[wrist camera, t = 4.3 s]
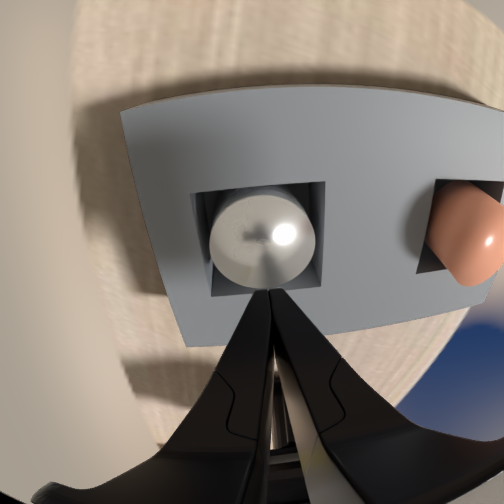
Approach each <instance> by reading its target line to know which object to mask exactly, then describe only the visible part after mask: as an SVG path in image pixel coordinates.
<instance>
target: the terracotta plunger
mask: <svg viewBox="0 0 504 504" xmlns="http://www.w3.org/2000/svg"><path fill="white" fill-rule="evenodd" d="M424 241H425V243H426V244H427V245H428V247H429V248H430V249H431V250H432V251H433V252H434V254H435V255H436V256H437V257H438V258H439V260H440V261H441V262H442V263H443V264H444V266H445V267H446V268H447V269H448V271H449V272H450V273H451V274H452V276H453V277H454V278H455V280H456V281H457V282H458V283H459V284H460V285H463V286H469V287H470V286H475V285H478V284H480V283H482V282H484V281H486V280H487V279H489V278H490V277H491V276H492V275H493V274H494V273H495V272H496V271H497V270H498V269H499V268H500V267H501V265H502V264H503V263H504V206H503V205H501V204H500V203H499V202H497V201H496V200H495V199H493V198H492V197H491V196H489V195H488V194H486V193H485V192H484V191H482V190H481V189H479V188H478V187H476V186H475V185H473V184H472V183H470V182H469V181H466V180H455V181H452V182H450V183H448V184H446V185H444V186H443V187H442V188H441V189H440V190H438V191H437V193H436V194H435V195H434V196H433V198H432V203H431V209H430V214H429V219H428V224H427V229H426V234H425V238H424Z"/></svg>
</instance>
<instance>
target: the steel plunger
mask: <svg viewBox="0 0 504 504" xmlns="http://www.w3.org/2000/svg"><path fill="white" fill-rule="evenodd" d="M209 247H210V254H211V257H212V260H213V262H214V264H215V266H216V267H217V269H218V270H219V271H220V272H221V273H222V274H223V275H224V276H225V277H226V278H228V279H229V280H231V281H233V282H235V283H237V284H239V285H242V286H246V287H251V288H270V287H275V286H279V285H281V284H284V283H286V282H288V281H290V280H292V279H293V278H295V277H296V276H298V275H299V274H300V273H301V272H302V271H303V270H304V269H305V268H306V266H307V265H308V264H309V262H310V260H311V258H312V256H313V253H314V249H315V234H314V230H313V227H312V225H311V222H310V220H309V218H308V216H307V213H306V211H305V209H304V207H303V204H302V202H301V200H300V198H299V196H298V194H297V192H296V190H295V189H294V188H293V187H292V185H290V184H277V185H265V186H254V187H243V188H233V189H224V190H222V191H221V193H220V195H219V197H218V199H217V202H216V205H215V211H214V217H213V223H212V229H211V235H210V244H209Z"/></svg>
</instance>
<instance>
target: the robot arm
mask: <svg viewBox="0 0 504 504" xmlns="http://www.w3.org/2000/svg"><path fill="white" fill-rule="evenodd" d="M274 353H275V359H276V364H277V368H278V372H279V376H280V378H276V379H274ZM341 357H342V356H341V355H340V354H339V352H338V351H337V350H336V349H335V348H334V347H333V346H332V344H331V343H330V342H329V341H328V340H327V339H326V337H325V336H324V335H323V334H322V333H321V332H320V330H319V329H318V328H317V327H316V326H315V325H314V324H313V322H312V321H311V320H310V319H309V318H308V317H307V315H306V314H305V313H304V312H303V311H302V310H301V308H300V307H299V306H298V305H297V304H296V303H295V302H294V300H293V299H292V298H291V297H290V296H289V295H288V293H287V292H286V291H285V290H284V289H283V288H282V287H279V288H270V289H269V291H268V289H258V290H255V291H254V292H253V294H252V296H251V298H250V300H249V302H248V304H247V306H246V308H245V310H244V312H243V314H242V316H241V318H240V320H239V322H238V324H237V326H236V328H235V330H234V332H233V334H232V336H231V338H230V340H229V342H228V344H227V346H226V348H225V350H224V352H223V354H222V356H221V358H220V360H219V362H218V364H217V366H216V368H215V371H213V373H212V375H211V377H210V379H209V381H208V383H207V385H206V386H205V388H204V390H203V392H202V393H201V395H200V397H199V398H198V400H197V401H196V403H195V404H194V406H193V407H192V409H191V410H190V411H189V413H188V414H187V415H186V417H185V418H184V420H183V421H182V422H181V424H180V425H179V426H178V428H177V429H176V430H175V432H174V433H173V435H172V436H171V437H170V439H169V440H168V441H167V442H166V444H165V445H164V446H163V447H162V448H161V449H160V450H159V451H158V452H157V453H156V454H155V455H154V456H152V457H151V458H150V459H148V460H146V461H145V462H143V463H141V464H139V465H137V466H136V467H134V468H132V469H130V470H128V471H127V472H125V473H123V474H121V475H119V476H117V477H115V478H113V479H112V480H110V481H108V482H106V483H104V484H102V485H99V486H97V487H94V488H90V489H75V488H71V487H68V486H65V485H62V484H59V483H56V482H50V483H48V484H46V485H45V486H43V487H42V488H40V489H39V490H38V491H37V492H36V493H35V494H34V495H33V497H32V499H31V502H32V503H34V504H504V437H503V438H501V439H498V440H495V441H485V442H484V441H476V440H471V439H467V438H462V437H458V436H454V435H450V434H446V433H442V432H438V431H435V430H431V429H427V428H424V427H421V426H419V425H417V424H415V423H413V422H411V421H410V420H409V419H407V418H406V417H405V416H403V415H402V414H401V413H400V412H399V411H398V410H396V409H395V408H394V407H393V406H392V405H391V404H390V403H388V402H387V401H386V400H385V399H384V398H383V397H382V396H380V395H379V394H378V393H377V392H376V391H375V390H374V389H373V388H372V387H370V386H369V385H368V384H367V383H366V382H365V381H364V380H363V379H362V378H361V377H360V376H359V375H358V374H357V373H356V372H355V371H354V370H353V368H352V367H351V366H350V365H349V364H348V363H347V362H346V360H345V359H344V358H341ZM271 428H272V440H273V449H272V450H270V443H271ZM0 504H26V503H24V502H22V501H19V500H18V499H16V498H14V497H12V496H10V495H8V494H6V493H4V492H2V491H0Z"/></svg>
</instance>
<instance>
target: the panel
mask: <svg viewBox="0 0 504 504" xmlns="http://www.w3.org/2000/svg"><path fill="white" fill-rule="evenodd" d="M120 116H121V121H122V126H123V132H124V137H125V142H126V146H127V151H128V156H129V160H130V165H131V169H132V174H133V178H134V182H135V186H136V190H137V194H138V198H139V202H140V206H141V210H142V213H143V217H144V221H145V224H146V228H147V232H148V235H149V239H150V242H151V245H152V249H153V252H154V255H155V259H156V262H157V265H158V268H159V271H160V274H161V278H162V281H163V284H164V287H165V290H166V293H167V296H168V299H169V301H170V304H171V307H172V310H173V313H174V316H175V318H176V321H177V324H178V327H179V329H180V332H181V335H182V337H183V340H184V343H185V345H186V347H205V346H223V345H227V344H228V342H229V340H230V338H231V336H232V334H233V332H234V330H235V328H236V326H237V324H238V322H239V320H240V318H241V316H242V314H243V312H244V310H245V308H246V306H247V304H248V302H249V300H250V298H251V296H252V294H253V292H254V291H255V290H258V289H268V291H269V289H270V288H279V287H282V288H283V289H284V290H285V291H286V292H287V293H288V295H289V296H290V297H291V298H292V299H293V300H294V302H295V303H296V304H297V305H298V306H299V307H300V308H301V310H302V311H303V312H304V313H305V314H306V315H307V317H308V318H309V319H310V320H311V321H312V322H313V324H314V325H315V326H316V327H317V328H318V329H319V330H320V332H321V333H322V334H323V335H332V334H338V333H345V332H351V331H358V330H364V329H370V328H375V327H381V326H386V325H391V324H397V323H402V322H407V321H411V320H416V319H421V318H425V317H430V316H434V315H438V314H443V313H447V312H451V311H455V310H459V309H463V308H466V307H470V306H474V305H478V304H481V303H484V301H485V299H486V297H487V295H488V293H489V290H490V288H491V286H492V283H493V281H494V279H495V276H496V274H497V271H498V270H497V271H496V272H495V273H494V274H493V275H492V276H491V277H490V278H489V279H487V280H486V281H484V282H482V283H480V284H478V285H475V286H470V287H469V286H463V285H460V284H459V283H458V282H457V281H456V280H455V278H454V277H453V276H452V274H451V273H450V272H449V271H448V269H447V268H446V267H445V266H444V264H443V263H442V262H441V261H440V260H439V258H438V257H437V256H436V255H435V254H434V252H433V251H432V250H431V249H430V248H429V247H428V245H427V244H426V243H425V241H424V238H425V234H426V229H427V224H428V219H429V214H430V209H431V203H432V198H433V196H434V195H435V194H436V193H437V191H438V190H440V189H441V188H442V187H443V186H444V185H446V184H448V183H450V182H452V181H455V180H466V181H469V182H470V183H472V184H473V185H475V186H476V187H478V188H479V189H481V190H482V191H484V192H485V193H486V194H488V195H489V196H491V197H492V198H493V199H495V200H496V201H497V202H499V203H500V204H501V205H503V206H504V111H503V110H500V109H497V108H494V107H491V106H487V105H484V104H480V103H476V102H471V101H467V100H463V99H458V98H453V97H448V96H443V95H438V94H432V93H426V92H420V91H413V90H405V89H397V88H388V87H377V86H364V85H346V84H282V85H263V86H250V87H239V88H229V89H221V90H213V91H206V92H199V93H192V94H186V95H180V96H175V97H170V98H164V99H159V100H155V101H150V102H147V103H144V104H141V105H138V106H135V107H132V108H129V109H126V110H123V111H120ZM277 184H290V185H292V187H293V188H294V189H295V190H296V192H297V194H298V196H299V198H300V200H301V202H302V204H303V207H304V209H305V211H306V213H307V216H308V218H309V220H310V222H311V225H312V227H313V230H314V234H315V249H314V253H313V256H312V258H311V260H310V262H309V264H308V265H307V266H306V268H305V269H304V270H303V271H302V272H301V273H300V274H299V275H298V276H296V277H295V278H293V279H292V280H290V281H288V282H286V283H284V284H281V285H279V286H275V287H270V288H251V287H246V286H242V285H239V284H237V283H235V282H233V281H231V280H229V279H228V278H226V277H225V276H224V275H223V274H222V273H221V272H220V271H219V270H218V269H217V267H216V266H215V264H214V262H213V260H212V257H211V254H210V247H209V244H210V235H211V229H212V223H213V217H214V211H215V205H216V202H217V199H218V197H219V195H220V193H221V191H222V190H224V189H233V188H243V187H254V186H265V185H277Z"/></svg>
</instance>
